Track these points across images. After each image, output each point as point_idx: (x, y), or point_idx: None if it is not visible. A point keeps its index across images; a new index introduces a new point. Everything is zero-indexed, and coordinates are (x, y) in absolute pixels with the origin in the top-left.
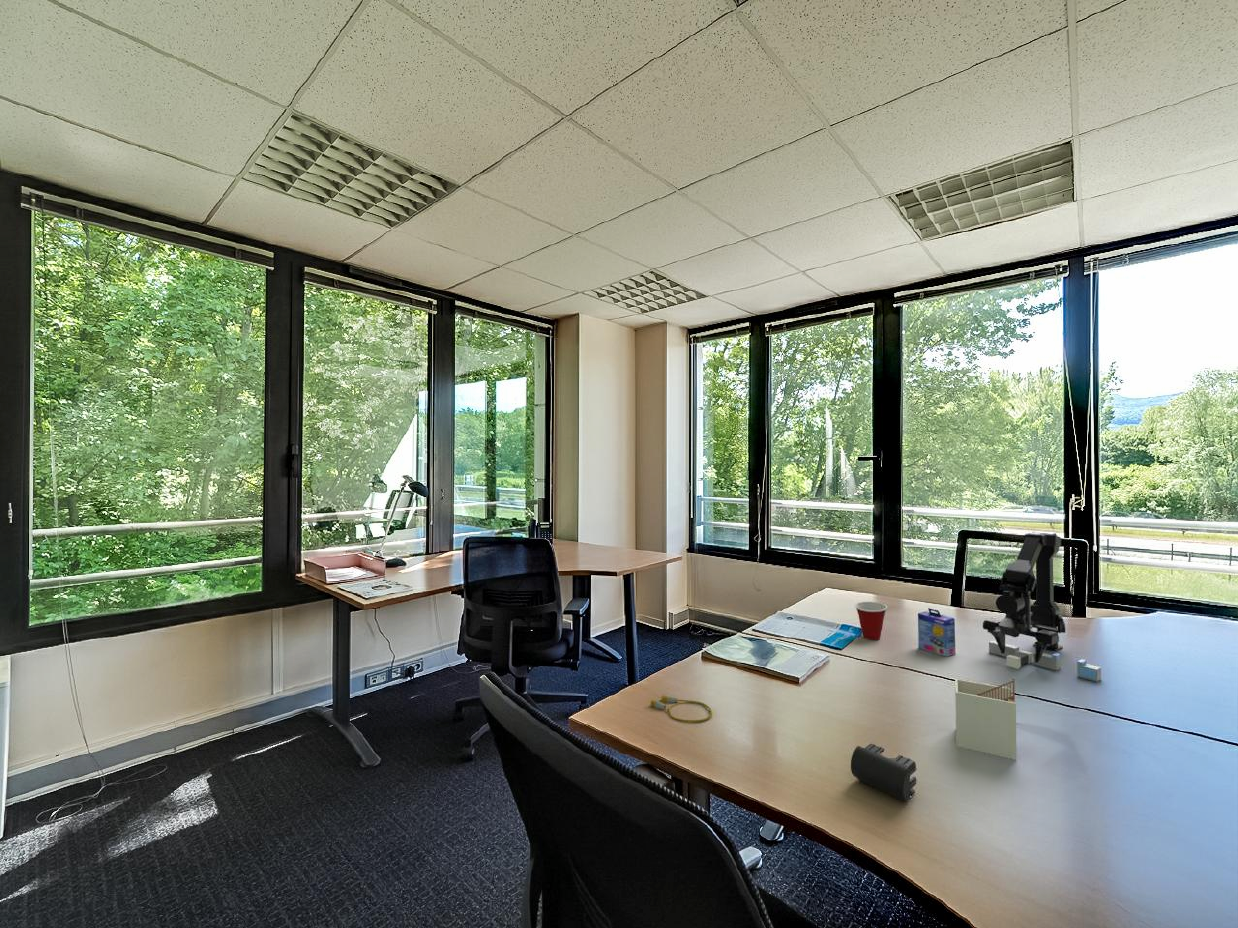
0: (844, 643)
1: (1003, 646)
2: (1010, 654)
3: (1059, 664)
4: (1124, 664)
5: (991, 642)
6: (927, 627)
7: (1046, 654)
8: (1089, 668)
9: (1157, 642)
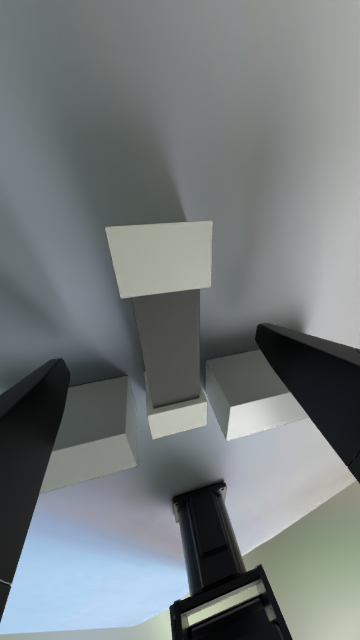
0: None
1: (289, 363)
2: (232, 368)
3: None
4: (31, 558)
5: None
6: None
7: (77, 473)
8: None
9: (116, 597)
